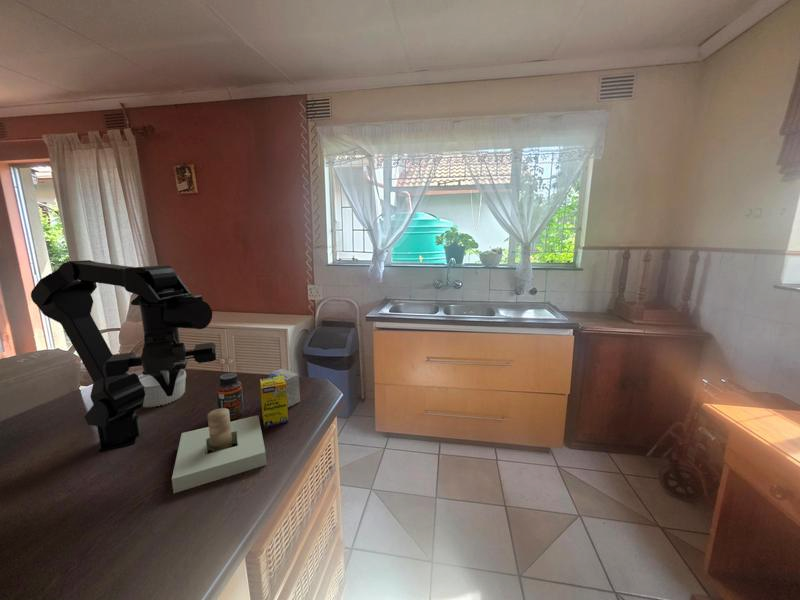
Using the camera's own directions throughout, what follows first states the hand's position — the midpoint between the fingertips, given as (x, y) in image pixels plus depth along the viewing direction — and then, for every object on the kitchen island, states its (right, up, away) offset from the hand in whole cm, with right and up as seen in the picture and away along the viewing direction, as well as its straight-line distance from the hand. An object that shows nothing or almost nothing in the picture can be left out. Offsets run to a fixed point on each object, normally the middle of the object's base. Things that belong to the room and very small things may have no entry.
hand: (170, 395), depth 68 cm
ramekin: (-21, -9, +25) cm, 34 cm away
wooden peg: (+11, -13, +1) cm, 17 cm away
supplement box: (+17, -11, +14) cm, 25 cm away
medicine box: (+16, -9, +24) cm, 30 cm away
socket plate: (+11, -13, +1) cm, 17 cm away
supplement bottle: (+5, -11, +16) cm, 20 cm away
